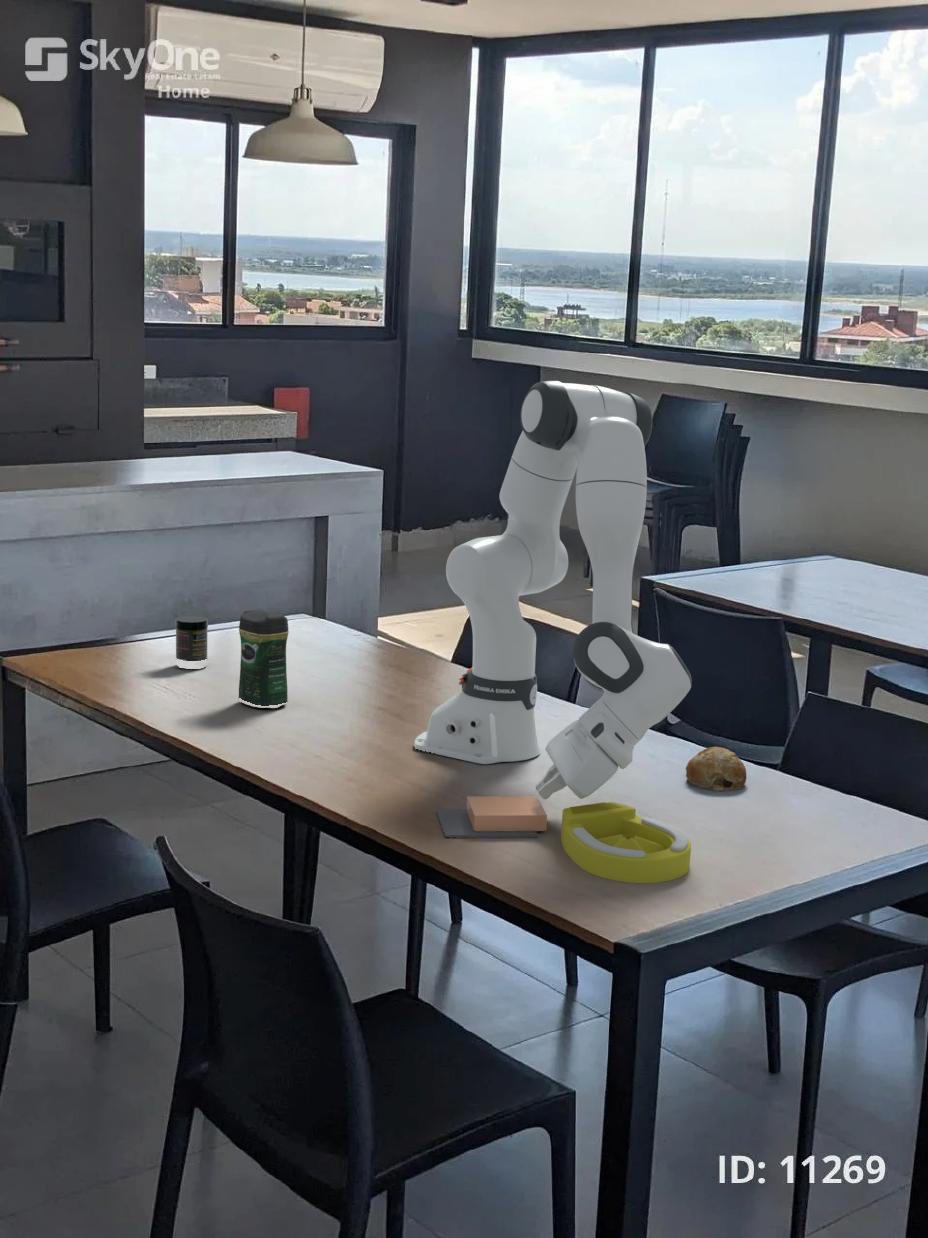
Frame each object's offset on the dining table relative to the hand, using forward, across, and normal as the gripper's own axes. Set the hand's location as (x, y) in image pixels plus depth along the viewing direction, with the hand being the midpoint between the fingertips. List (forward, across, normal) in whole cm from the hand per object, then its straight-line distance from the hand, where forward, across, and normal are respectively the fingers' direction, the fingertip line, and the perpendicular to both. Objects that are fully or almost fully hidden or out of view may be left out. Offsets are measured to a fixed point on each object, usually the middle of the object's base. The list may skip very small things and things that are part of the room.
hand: (539, 793), depth 234 cm
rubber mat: (+9, 0, -2) cm, 9 cm away
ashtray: (-3, +14, +11) cm, 18 cm away
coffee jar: (+34, -70, -26) cm, 82 cm away
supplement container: (+45, -101, -37) cm, 117 cm away
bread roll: (-20, -21, +28) cm, 40 cm away
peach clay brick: (+2, 0, +2) cm, 3 cm away
